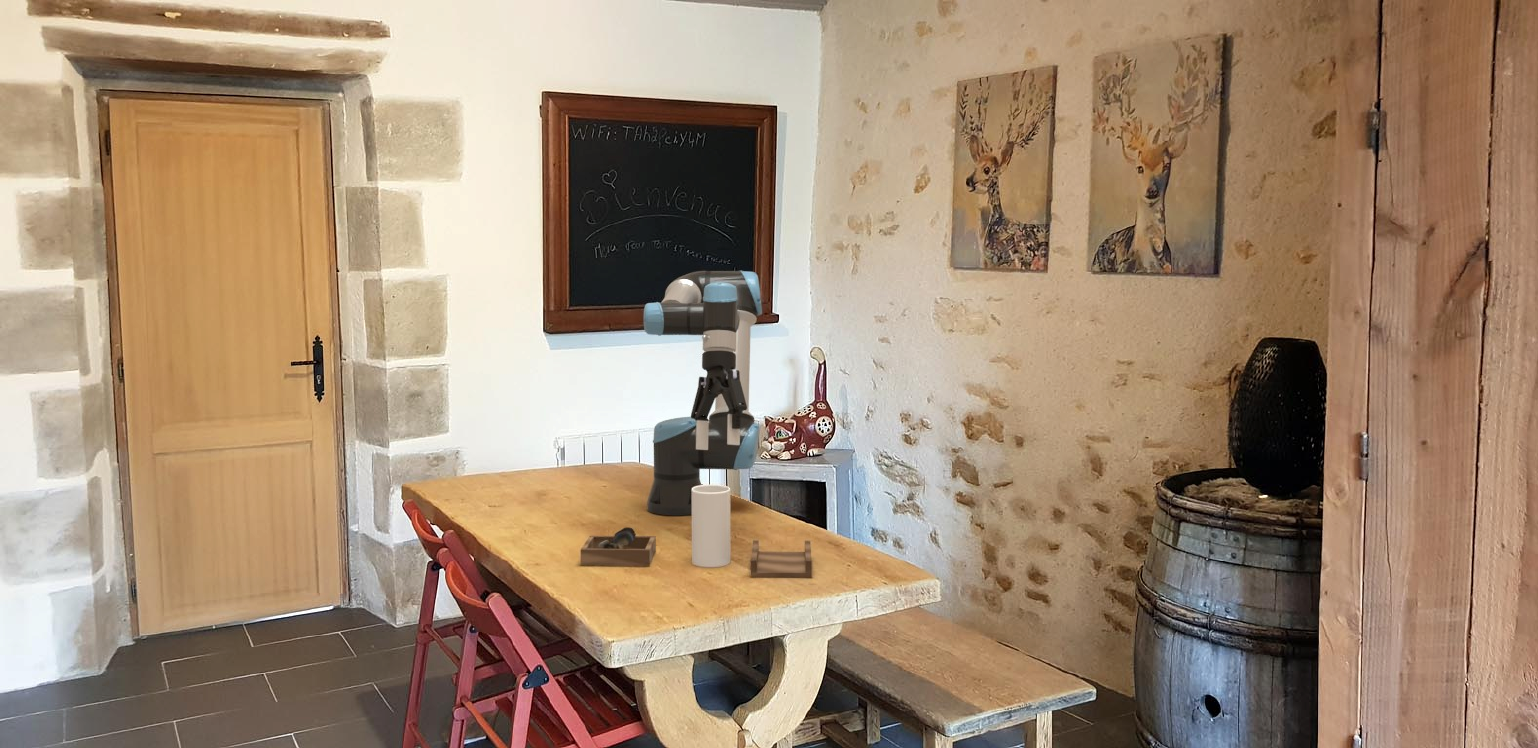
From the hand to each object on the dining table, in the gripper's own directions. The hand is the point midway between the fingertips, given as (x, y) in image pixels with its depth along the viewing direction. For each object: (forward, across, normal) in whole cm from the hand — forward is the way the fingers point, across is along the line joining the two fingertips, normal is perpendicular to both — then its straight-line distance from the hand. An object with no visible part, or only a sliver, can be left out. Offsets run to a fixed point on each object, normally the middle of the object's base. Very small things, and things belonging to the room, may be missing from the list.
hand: (717, 447), depth 251 cm
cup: (+25, +2, -2) cm, 25 cm away
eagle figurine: (+25, -11, -18) cm, 32 cm away
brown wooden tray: (+26, +13, +9) cm, 30 cm away
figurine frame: (+24, -11, -18) cm, 32 cm away
